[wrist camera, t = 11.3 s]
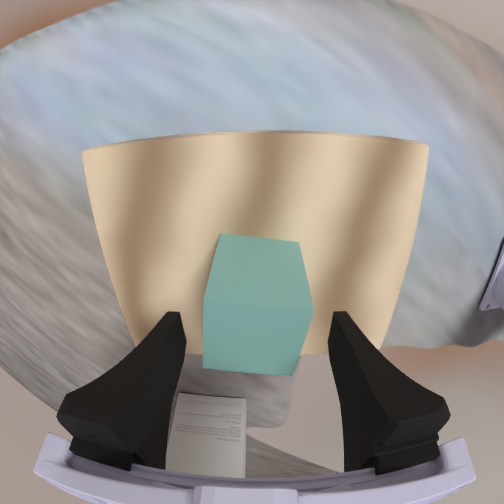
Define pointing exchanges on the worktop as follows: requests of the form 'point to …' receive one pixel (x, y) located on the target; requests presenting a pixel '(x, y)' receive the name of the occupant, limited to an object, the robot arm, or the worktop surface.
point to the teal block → (256, 306)
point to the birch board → (257, 219)
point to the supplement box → (208, 436)
